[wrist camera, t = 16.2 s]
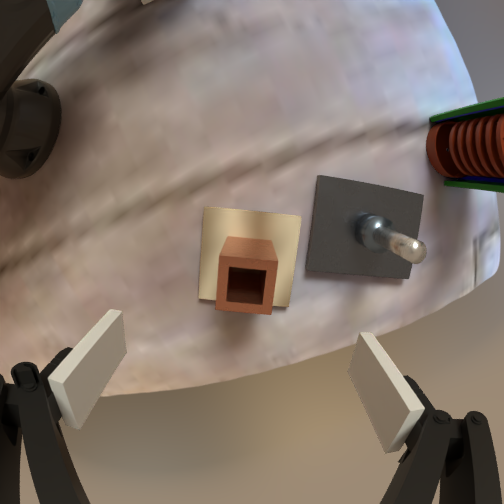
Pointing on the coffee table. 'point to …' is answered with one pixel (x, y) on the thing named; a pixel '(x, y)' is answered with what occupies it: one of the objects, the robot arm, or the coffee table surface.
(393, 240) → the grey peg stand
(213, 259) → the plywood pad
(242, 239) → the square copper sleeve
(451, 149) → the motor
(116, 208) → the coffee table surface
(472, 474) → the robot arm
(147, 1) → the grater
